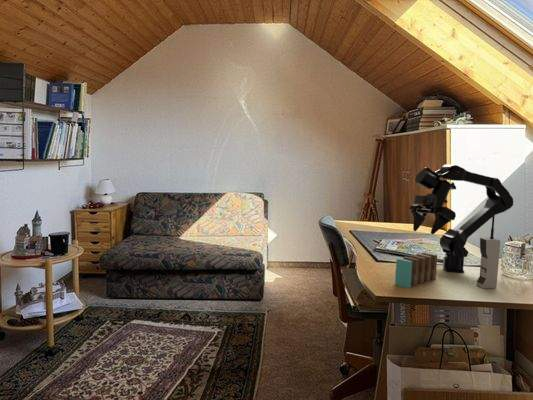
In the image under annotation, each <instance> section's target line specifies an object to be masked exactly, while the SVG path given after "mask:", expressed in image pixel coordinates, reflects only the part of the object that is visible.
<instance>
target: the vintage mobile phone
mask: <svg viewBox="0 0 533 400" xmlns="http://www.w3.org/2000/svg"><path fill="white" fill-rule="evenodd" d="M495 217H496V215H493V217H492V218H491V220H492V221H491V228H490V237H479V252H480V264H479V266H480V268H479V277H478V278H477V280H476V282H475V283H476V286H477V287H480V288H481V289H496V288H497V286H498V285H497V283H498V277H499V276H498V274H499V262H500V261H499V260H500V252H501V251H500V248H501V240H500V239H498V238H495V237H494V234H495Z"/></svg>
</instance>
